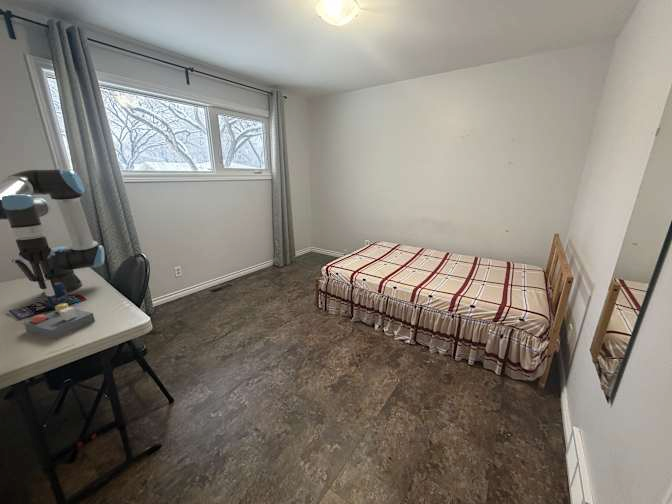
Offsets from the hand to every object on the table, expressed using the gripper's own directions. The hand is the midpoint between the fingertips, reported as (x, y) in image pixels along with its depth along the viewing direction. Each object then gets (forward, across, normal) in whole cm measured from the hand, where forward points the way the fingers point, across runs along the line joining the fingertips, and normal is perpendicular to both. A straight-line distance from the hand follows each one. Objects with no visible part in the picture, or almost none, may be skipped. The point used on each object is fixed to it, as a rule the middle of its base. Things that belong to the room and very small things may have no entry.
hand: (50, 295), depth 106 cm
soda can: (+17, +13, +27) cm, 34 cm away
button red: (+14, -2, +10) cm, 17 cm away
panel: (+16, +2, +5) cm, 17 cm away
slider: (+12, +3, 0) cm, 13 cm away
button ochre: (+12, +6, +10) cm, 17 cm away
